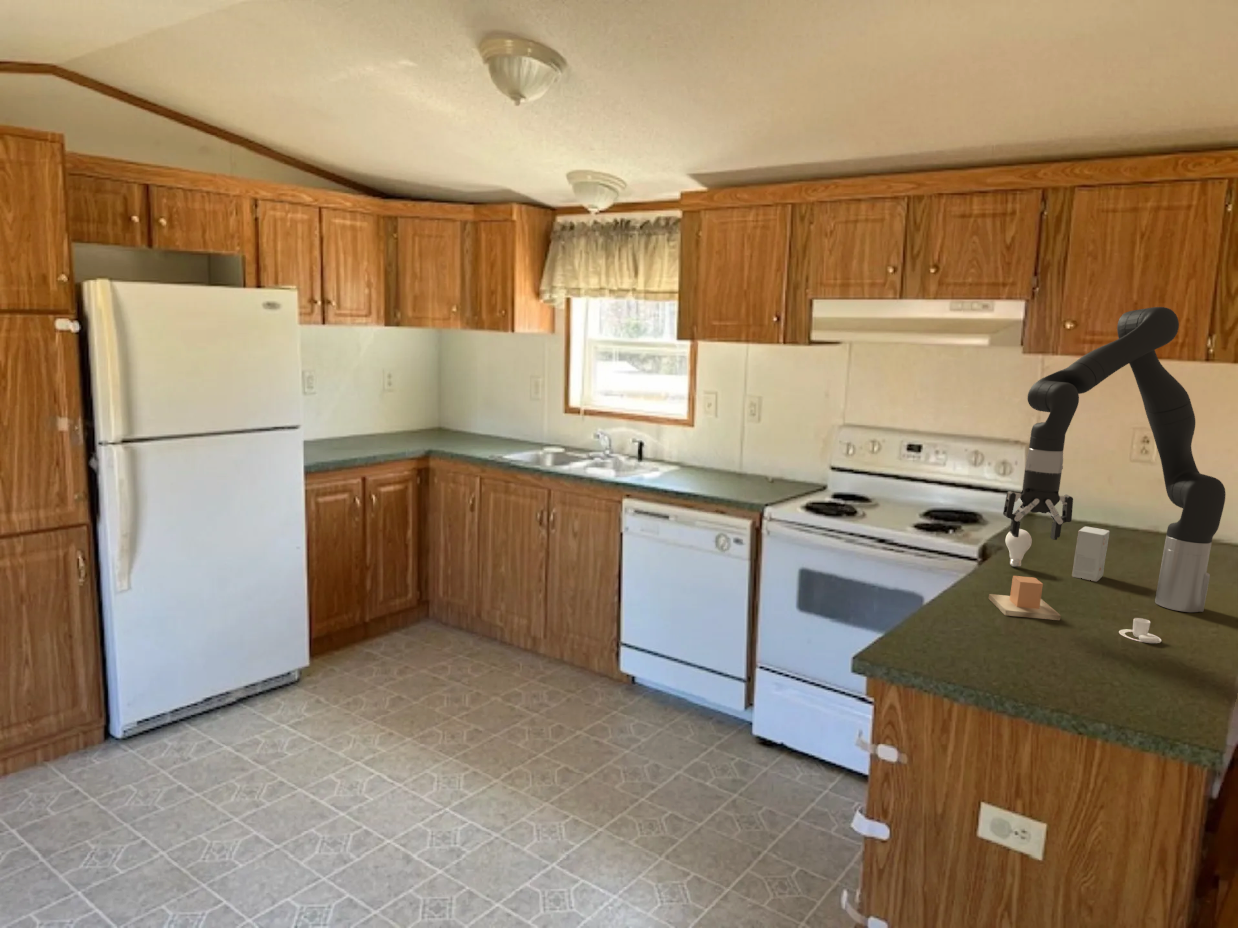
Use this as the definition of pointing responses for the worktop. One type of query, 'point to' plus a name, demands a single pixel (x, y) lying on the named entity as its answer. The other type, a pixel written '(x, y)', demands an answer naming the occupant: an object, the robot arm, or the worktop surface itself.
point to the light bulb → (1018, 546)
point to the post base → (1023, 608)
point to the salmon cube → (1026, 592)
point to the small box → (1090, 553)
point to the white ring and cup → (1141, 631)
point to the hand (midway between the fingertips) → (1034, 537)
